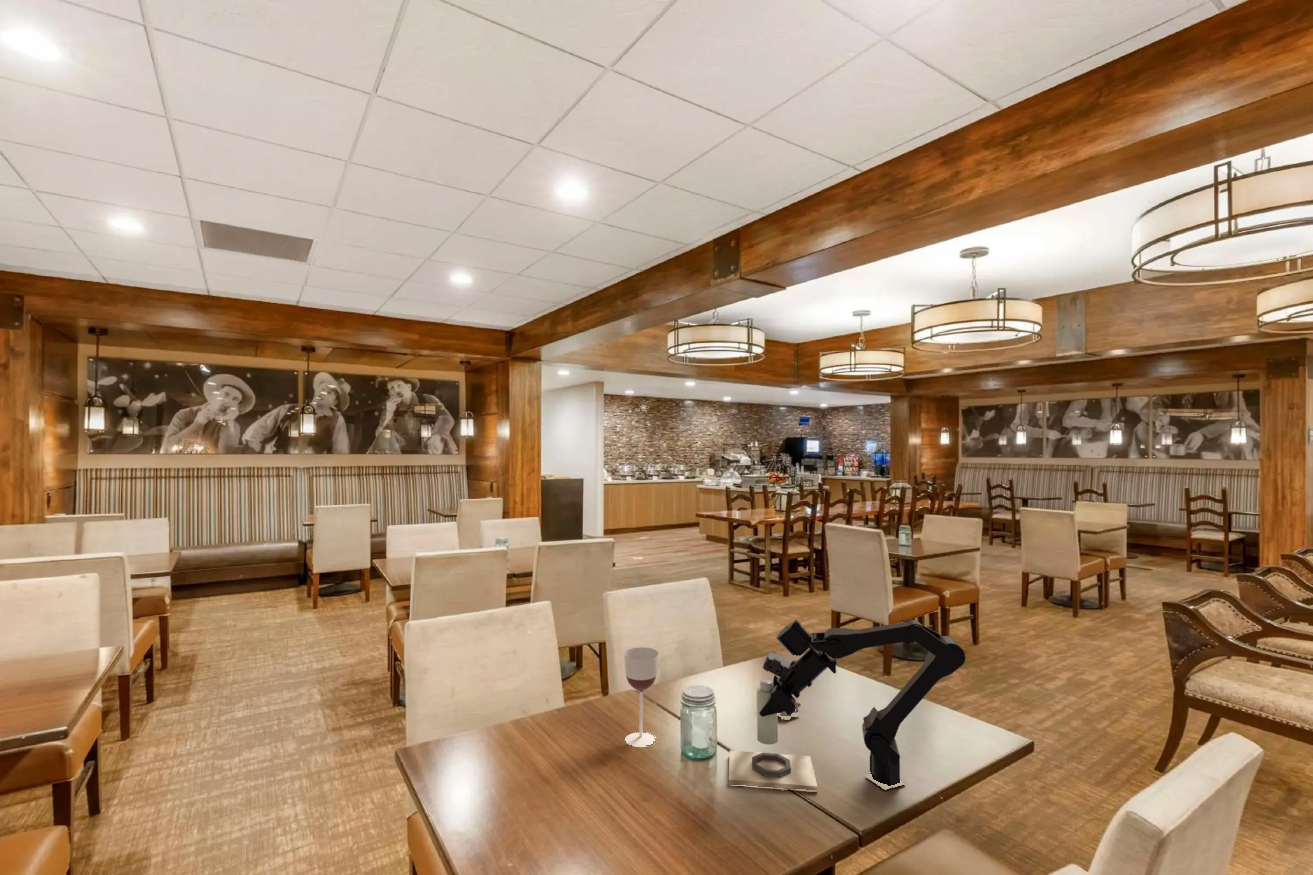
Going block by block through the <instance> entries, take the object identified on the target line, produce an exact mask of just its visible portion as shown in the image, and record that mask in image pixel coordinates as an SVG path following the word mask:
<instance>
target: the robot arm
mask: <svg viewBox="0 0 1313 875" xmlns="http://www.w3.org/2000/svg"><path fill="white" fill-rule="evenodd" d="M776 640H777V641H778V642H780V643H781V645H782V646H783V647H784V648H785V649H786V650H787V651H788V652H789V653H790V654H791V656H796V657H799V658H798V660H796V659H794V660H792V661H791V662H788V661H787V660H785V659H784V658H782V657H780V656H779V655H776V654H775V653H773V652H768V654H767V656H766V658H765V660H764V663H763V665H762V669H763V670H764V671H766V672H769V673H771V674H773V680H772V682H773V689H772V688H771V691H770V696H771V698H770V699H769V700H768V702H767V703H766V704H765V706H764V707H763V708H762V710H761V711H760V712H759V714H760V715H761V716H762V717H763V716H767V715H772V714H776V713H781V712H785V713H786V714H787V715H789V716H790V715H791V714H792V713H793V712H794V711H795V709H796V702H797V699H798V698H799V697H801V692H803V691H804V690H805V689H806V688H807V687H808V688H811V687H812V685H813V682H814V681H815V680H816V679H817V678H818V677H819V676H820V675H822V673H824V672H825V671H826V670H827V669H829V671H831V672H832V673H833V674H836V673H837V662H838V660H839V659H842V658H846V657H848V656H851V655H853V654H855V653H856V652H859V651H861V650H864V649H868V648H873V647H874V648H875V647H882V646H888V645H895V644H901V643H907V642H915V643H917V644H919V645H920V646H921V647H922V648H924V649H925V650H926V651H927V653H926V656H925V660H924V661H923V664H922V665H921V666H920V667H919V669H918V670H917V671H916V672H915V673H914V675H913V676H912V677H911V678H910V679H909V680H908V681H907V682H906V684H905V685H904V686H903V687H902V688H901V689H900V691H898V693H897V694H896V695H895V696H894V698H893V699H892V700H891V701H890V702H889V703H888V704H887V705H886V707H884V708H883V709H880V710H877V708H876V707H875V706H874V707H872V708H871V710H870V711H869V713H868V714H867V715H866V716H864V717H862V718H863V720H862V721H863V723H862V725H861V730H862V735H863V742H864V745H865V747H866V748H867V749H868V751H870V752H869V753H870V755H869V773H870V772H871V773H870V774H872V777H873V779H874V780H876V781H878V782H880V783H883V784H887V785H888V786H891V785H895V784H897V783H900V780H901V760H900V759H901V754H900V751H899V747H898V744H897V740H896V736H897V733H898V730H899V727H900V725H901V724H902V723H903V722H904V720H905V719H906V718H907V717H908V716H909V715H910V714H911V713H912V711H914V709H915V708H916V707H917V705H919V704H920V702H921V701H922V700H923V699H924V698H925V696H926V695H927V694H928V693H929V692H930V691H931V690H932V688H934V686H936V684H937V683H938V682H939V681H940V680H942V679H944V678H945V677H949V676H950V675H952V674H953V673H955V672H956V671H957V670H959V669H960V668H961V667H963V666H964V664H965V663H966V653H965V652H964V649H963V648H962V647H961V645H960V644H959V643H958V641H956V639H955V638H953V637H951V636H948V635H941V634H939V633H938V632H936V631H935V630H933V629H931V628H929V627H927V626H925V625H923V624H921V622H919V621H918V620H917V619H916V620H915V619H910V620H908V621H903V622H896V623H892V624H891V623H890V624H885V625H879V626H873V627H867V628H861V629H854V628H849V627H847V628H846V627H831V628H828V629H827V630H825V631H823V632H811V633H809V632H808V630H807V629H806V628H804V626H803V625H802V623H801V622H800V621H799V620H798V619H795V620H794V621H793V622H791V623H789V624H788V625H785V626H784V627H783V628H782V629H781V630H780V631H779V632H778V634H777V636H776ZM837 659H838V660H837Z"/></svg>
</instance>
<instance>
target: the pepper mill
mask: <svg viewBox="0 0 1313 875" xmlns="http://www.w3.org/2000/svg"><path fill="white" fill-rule="evenodd" d="M759 685H760V686H759V687H758V688H757V689H756V730H757V731H756V733H757V735H756V737H757V738H756V739H757V742H759V743H761V744H764V745H774V744H777V743H778V741H779V736H778V735H779V734H778V733H779V730H778V729H779V726H778V724H779V722H778V720H779V719H778V718H779V717H778V716H777V713H776V714H772V715H767V716H763V717H762V716H761V715H760V714H759V712H760V711H761V710H762V708H763V707H764V706H765V704H766V703H767V702H768V700H769V699H770V698H771V696H770V691H771V688H772V689H773V680H769V679H764V680H763V679H762V680H760V682H759Z"/></svg>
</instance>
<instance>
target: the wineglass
mask: <svg viewBox="0 0 1313 875" xmlns="http://www.w3.org/2000/svg"><path fill="white" fill-rule="evenodd" d="M658 668H659V651H658V650H657V649H654V648H651V647H641V646H640V647H633V648H630V649H627V650H625V652H624V670H625V671H624V672H625V677H626V680H627V682H628V684H629V685H630V686H631V687H632V688H633V689H635V690H636V691H639V714H638V715H639V716H638V717H639V721H638V722H639V726H638V727H639V728H638V729H639V730H638V731H637V733H636V732H632V733H630V734H628V735H627V736H625V738H624V742H625V741H626V742H625V743H626V744H627V745H629V746H631V745H632V746H631V747H634V748H635V747H636V748H646V747H648V746H646V745H651V744H653V741H655V739H654V738H657V737H656V736H655V735H654V734H653V735H654V736H655V737H654V736H653V735H651V734H652V733H650V732H646V733H643V732H644V731H643V729H644V728H643V721H644V720H643V718H644V716H643V713H644V712H643V710H644V708H643V706H644V704H643V702H644V699H643V698H644V697H643V696H644V691H645V690H647V689H649V688H650V687H651V686H652V685H653V684H654V683H655V680H656V678H657V675H658ZM638 732H639V733H638ZM649 733H650V734H649ZM653 745H654V744H653ZM651 746H652V745H651Z"/></svg>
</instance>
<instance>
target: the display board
mask: <svg viewBox="0 0 1313 875" xmlns="http://www.w3.org/2000/svg"><path fill="white" fill-rule="evenodd" d="M728 765H729V766H728V767H729V768H728V769H729V770H728V786H729V785H746V786H758V787H773V788H783V789H786V788H787V789H806V790H817V791H818V784H817V779H816V774H815V771H814V766H813V763H812V759H811V756H810V755H801V754H800V755H799V754H788V753H787V754H786V753H775V752H774V753H772V752H771V753H770V752H760V751H759V752H756V751H743V750H729V764H728Z"/></svg>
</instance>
